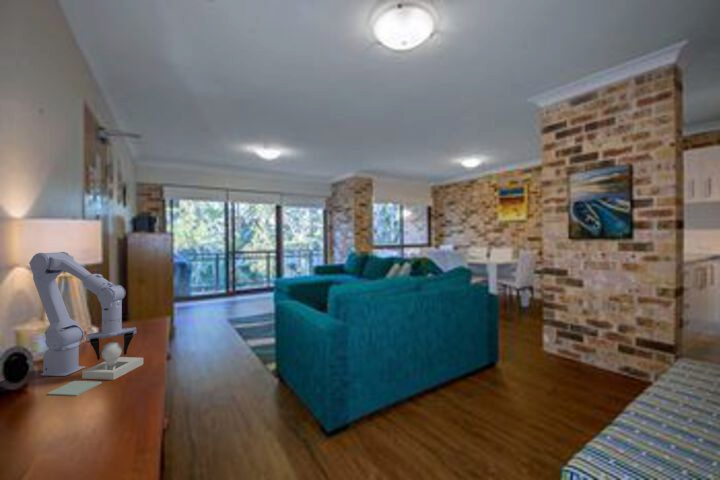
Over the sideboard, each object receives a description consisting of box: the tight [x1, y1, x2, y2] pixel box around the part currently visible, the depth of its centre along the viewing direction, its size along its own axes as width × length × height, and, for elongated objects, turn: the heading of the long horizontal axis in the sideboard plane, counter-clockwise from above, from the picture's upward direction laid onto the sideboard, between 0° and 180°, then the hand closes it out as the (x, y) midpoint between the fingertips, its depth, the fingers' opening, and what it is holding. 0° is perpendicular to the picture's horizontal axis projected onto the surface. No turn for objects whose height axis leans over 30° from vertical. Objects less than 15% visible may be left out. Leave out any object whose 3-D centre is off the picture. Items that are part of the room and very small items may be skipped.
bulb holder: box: [81, 356, 144, 381], centre depth 119 cm, size 12×14×2 cm
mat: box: [46, 380, 103, 397], centre depth 105 cm, size 10×9×1 cm
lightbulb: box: [100, 341, 124, 370], centre depth 118 cm, size 6×6×11 cm
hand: (112, 356), depth 118 cm, fingers open, 7 cm apart
